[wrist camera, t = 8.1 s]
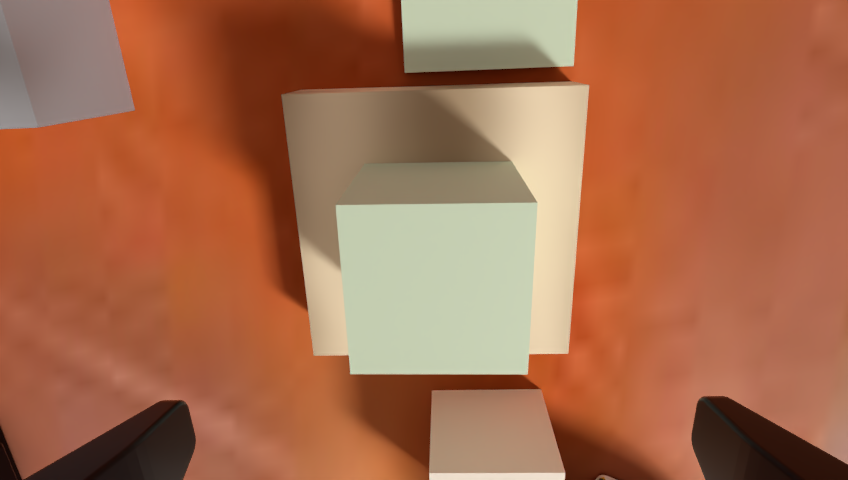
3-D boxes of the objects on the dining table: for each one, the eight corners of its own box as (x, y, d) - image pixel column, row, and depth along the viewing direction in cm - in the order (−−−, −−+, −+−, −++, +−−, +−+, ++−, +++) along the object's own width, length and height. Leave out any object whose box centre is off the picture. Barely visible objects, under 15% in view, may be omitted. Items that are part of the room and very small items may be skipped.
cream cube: (435, 473, 25) (433, 569, 20) (432, 389, 23) (429, 473, 19) (536, 472, 25) (558, 570, 20) (540, 388, 23) (565, 472, 18)
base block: (329, 318, 23) (313, 355, 20) (304, 88, 19) (281, 94, 17) (552, 315, 22) (568, 353, 20) (567, 80, 19) (589, 85, 16)
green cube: (373, 294, 19) (350, 374, 14) (364, 163, 17) (335, 205, 13) (506, 294, 19) (527, 374, 14) (511, 161, 17) (537, 202, 12)
